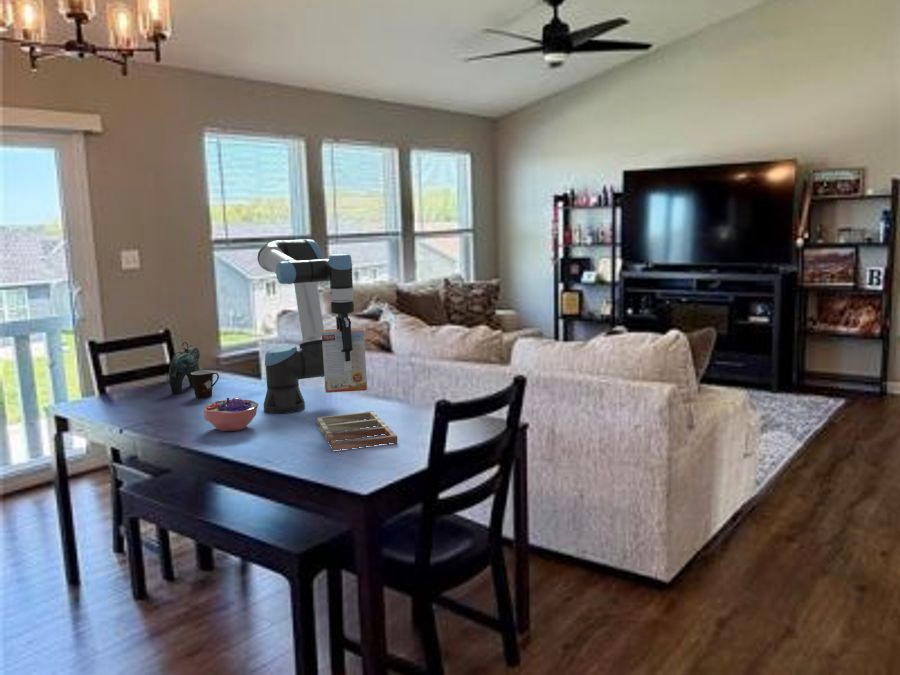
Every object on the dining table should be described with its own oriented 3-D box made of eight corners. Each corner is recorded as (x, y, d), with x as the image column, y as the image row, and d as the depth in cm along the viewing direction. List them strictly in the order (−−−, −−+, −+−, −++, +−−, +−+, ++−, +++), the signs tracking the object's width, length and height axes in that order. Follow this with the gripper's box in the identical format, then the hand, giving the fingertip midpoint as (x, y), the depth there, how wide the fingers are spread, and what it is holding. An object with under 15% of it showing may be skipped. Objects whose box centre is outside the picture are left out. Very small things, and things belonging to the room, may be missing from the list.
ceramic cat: (192, 383, 327) (188, 338, 323) (206, 383, 325) (202, 339, 322) (167, 394, 307) (162, 347, 304) (181, 394, 306) (177, 347, 303)
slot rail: (316, 424, 255) (316, 417, 255) (373, 417, 261) (373, 410, 261) (333, 452, 224) (333, 444, 224) (397, 443, 231) (397, 436, 230)
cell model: (236, 418, 266) (234, 388, 264) (269, 428, 253) (267, 396, 251) (193, 429, 253) (191, 397, 251) (226, 440, 240) (223, 406, 238)
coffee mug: (195, 400, 295) (193, 375, 294) (190, 396, 303) (188, 372, 301) (224, 395, 301) (222, 372, 300) (219, 391, 309) (217, 368, 307)
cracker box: (367, 386, 255) (364, 327, 251) (367, 391, 249) (364, 329, 245) (326, 389, 253) (322, 328, 249) (325, 393, 247) (321, 331, 244)
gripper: (326, 298, 254) (329, 363, 258) (336, 304, 235) (340, 375, 239) (347, 297, 256) (350, 361, 260) (359, 303, 238) (362, 373, 242)
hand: (345, 368), depth 250 cm, fingers closed on cracker box, 7 cm apart
